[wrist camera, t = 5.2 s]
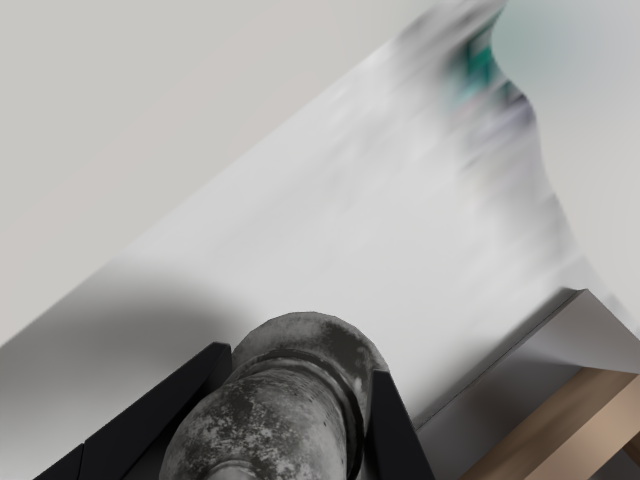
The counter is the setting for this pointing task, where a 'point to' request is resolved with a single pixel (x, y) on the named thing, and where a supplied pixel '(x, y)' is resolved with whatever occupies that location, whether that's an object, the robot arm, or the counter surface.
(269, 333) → the grey stone pawn figure
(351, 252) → the counter surface
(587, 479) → the end holder
